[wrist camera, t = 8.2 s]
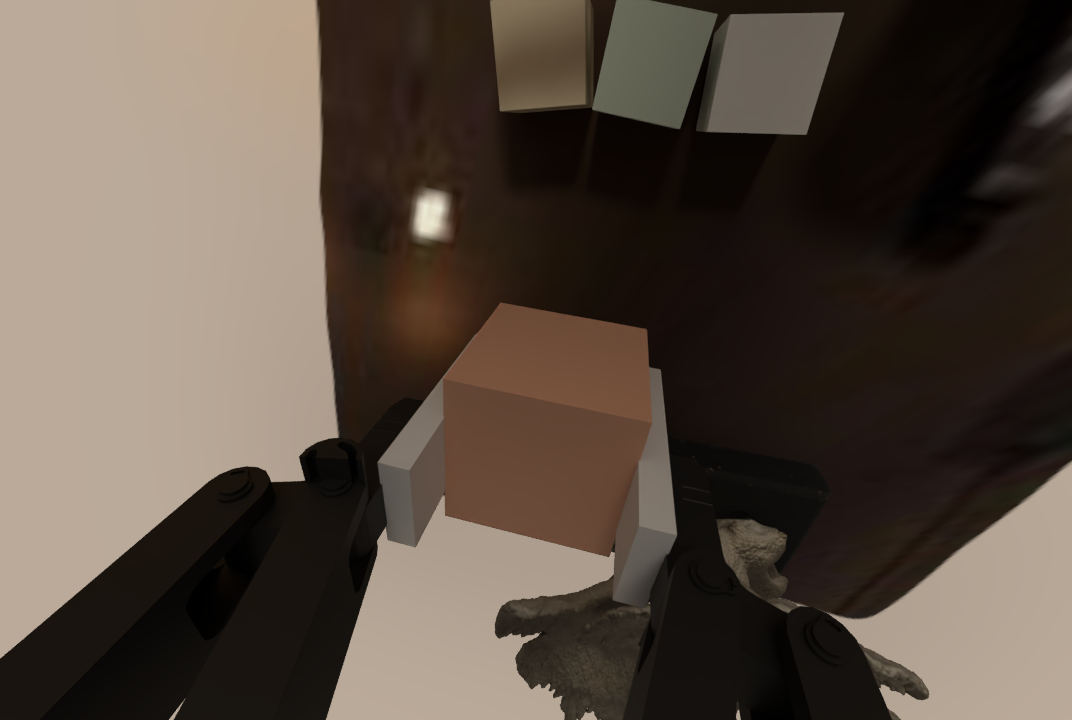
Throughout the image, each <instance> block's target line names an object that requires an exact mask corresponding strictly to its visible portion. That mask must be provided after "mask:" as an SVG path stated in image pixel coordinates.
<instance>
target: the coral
mask: <svg viewBox="0 0 1072 720" xmlns="http://www.w3.org/2000/svg"><path fill="white" fill-rule="evenodd" d="M667 439H668V449H669V454H671V455H676V456H681V457H685V458H690V459H694V460H697V461H698V462H699V464H700V465H701V467H702V468H703V470H704V471H705V473H706V474H707V476H708V481H709V486H710V494H711V496H712V501H713V507H714V511H715V516H716V521H717V526H718V530H719V535H720V540H721V545H722V550H723V555H724V558H725V561H726V563H727V564H728V565H729V566H730V567H731V568H732V569H733V570H734V572H735V574H736V576H737V577H738V579H739V581H740V583H741V584H742V585H743V586H744V587H745V588H746V589H747V590H748V591H750V592H751V593H753V594H754V595H756V596H757V597H759V598H761V599H763V600H764V601H766V602H768V603H770V604H772V605H774V606H775V607H777V608H779V609H781V610H783V611H784V612H786V613H789V612H790V611H791V610H793V609H795V608H797V607H799V606H797V605H796V604H795V603H792V602H790V601H788V600H785V599H778V598H780V597H781V596H782V595H783V594H784V593H785V590H786V588H787V583H788V580H787V578H785V577H784V576H781V575H780V574H781V573H782V572H783V570H784V568H785V567H786V565H787V564H788V562H789V560H790V559H791V558H792V556H793V555H794V553H795V551H796V550H797V548H798V547H799V545H800V544H801V542H802V540H803V539H804V537H805V536H806V534H807V533H808V531H809V529H810V528H811V526H812V525H813V523H814V522H815V520H816V518H817V517H818V515H819V514H820V512H821V510H822V509H823V507H824V506H825V504H826V503H827V501H828V500H829V498H830V496H831V490H830V489H829V487H828V485H827V483H826V481H825V479H824V477H823V475H822V473H821V471H820V469H819V468H818V467H817V466H816V465H812V464H807V463H802V462H796V461H791V460H785V459H780V458H775V457H770V456H764V455H759V454H753V453H748V452H743V451H737V450H731V449H727V448H721V447H715V446H711V445H705V444H699V443H694V442H689V441H684V440H679V439H673V438H668V437H667ZM615 541H616V537H615ZM615 541H614V544H613V547H612V550H611V552H615ZM613 581H614V575H613V576H612V577H611V578H610V579H609V580H607V581H603V582H600V583H598V584H595V585H593V586H592V587H589V588H586V589H584V590H581V591H579V592H575V593H570V594H566V595H558V596H552V597H547V596H540V597H539V598H535V599H533V598H531V599H521V600H512V601H509V602H507V603H506V604H505V605H503V606H502V607H501V608H500V610H499V612H498V615H497V618H496V622H495V634H496V636H497V637H498V638H499V639H500V638H502V637H504V636H505V637H506V636H508V635H509V634H511V633H512V634H513V635H519V634H521V637H525V636H526V635H534V634H535V633H540V632H541V633H540V634H539V636H538V637H537V638H534V639H533V640H530V641H528V642H527V643H524V644H523V646H522V648H521V649H520V651H519V652H518V654H517V655H516V658H515V659H516V664H517V671H518V673H519V675H521V677H522V678H524V680H525V681H526V682H527V683H528V685H529V687H530V688H531V689H533V688H534V687H535V686H537V685H538V684H540V685H541V688H545V686H546V685H548V684H549V683H550V685H551V686H550V689H549V691H552V690H553V689H555V690H556V691H555V693H554V694H553V698H556V697H559V696H563V697H562V700H561V704H560V707H561V710H562V711H563V712H564V713H565V719H564V720H576V719H578V720H581V718H582V717H583V715H584V713H585V712H587V713H591V712H592V711H594V714H595V716H596V717H597V720H599V719H601V720H623V716H624V712H625V708H626V704H627V700H628V696H629V692H630V688H631V684H632V680H633V676H634V672H635V668H636V664H637V660H638V656H639V652H640V648H641V647H640V646H638V643H639V641H640V639H641V637H642V635H643V633H644V630H645V628H646V626H647V624H648V622H649V620H650V617H651V615H650V604H648V603H649V602H650V598H649V600H648V602H647V605H646V607H645V609H643V608H640V607H636V606H632V605H629V604H625V603H621V602H617V601H614V600H613ZM858 644H859V643H858ZM859 645H860V647H861V649H862V650H863V652H864V654H865V656H866V658H867V661H868V663H869V666H870V668H871V670H872V673H873V675H874V677H875V680H876V682H877V685H878V687H879V688H881V684H883V685H886V686H888V687H889V688H890V690H891V691H897V692H900V693H901V694H903V695H905V693H908V694H909V695H911V696H912V697H914V698H916V699H917V700H925V699H927V698H928V697H929V691H928V689H927V687H926V686H925V684H924V683H923V681H922V679H920V678H919V677H918V676H917V675H916V674H915V673H914V672H911V671H910V670H908V669H907V668H905V667H904V666H902V665H901V664H898V663H896V662H893V661H891V660H887V659H886V658H884V657H883V656H881V655H879V654H878V653H876V652H874V651H872V650H870V649H867V648H864V647H863V646H862V645H861V644H859ZM587 708H588V709H587ZM737 710H739V705H738V701H737V708H736V713H737ZM888 711H889V713H890V716H891V718H892V720H901V719H899V717H898V716H897V715H896V714H895V713H893V712H892V711H890V710H889V709H888ZM736 720H737V719H736Z"/></svg>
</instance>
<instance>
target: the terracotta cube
mask: <svg viewBox="0 0 1072 720" xmlns="http://www.w3.org/2000/svg"><path fill="white" fill-rule="evenodd" d="M443 416H444V432H445V515H446V516H449V517H453V518H457V519H461V520H465V521H469V522H473V523H477V524H481V525H485V526H489V527H492V528H496V529H501V530H504V531H508V532H512V533H516V534H520V535H524V536H528V537H532V538H536V539H540V540H544V541H548V542H552V543H556V544H559V545H564V546H567V547H571V548H576V549H580V550H583V551H587V552H591V553H595V554H599V555H603V556H607V557H609V556H610V553H611V550H612V547H613V544H614V541H615V537H616V530H617V527H618V524H619V521H620V518H621V514H622V511H623V508H624V505H625V502H626V499H627V495H628V492H629V489H630V486H631V483H632V480H633V477H634V473H635V470H636V467H637V464H638V461H639V460H641V456H642V453H643V450H644V447H645V444H646V441H647V438H648V435H649V431H650V428H651V425H652V410H651V393H650V375H649V357H648V340H647V329H643V328H637V327H632V326H626V325H621V324H615V323H610V322H604V321H599V320H593V319H588V318H582V317H577V316H571V315H566V314H560V313H555V312H549V311H544V310H538V309H533V308H527V307H522V306H516V305H511V304H505V303H500V304H499V306H498V307H497V308H496V309H495V311H494V312H493V313H492V315H491V316H490V317H489V319H488V320H487V321H486V323H485V324H484V325H483V327H482V328H481V329H480V331H479V332H478V333H477V335H476V336H475V337H474V339H473V340H472V341H471V343H470V344H469V345H468V346H467V348H466V349H465V350H464V352H463V353H462V354H461V356H460V357H459V358H458V360H457V361H456V362H455V364H454V365H453V366H452V368H451V369H450V370H449V372H448V373H447V374H446V376H445V377H444V378H443Z"/></svg>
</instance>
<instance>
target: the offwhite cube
mask: <svg viewBox="0 0 1072 720" xmlns="http://www.w3.org/2000/svg"><path fill="white" fill-rule="evenodd" d="M843 15H844V13H788V14H731V15H730V16H729V17H728V18H727V19H726V21H725V22H724V23H723V24H722V25H721V26H720V28H719V29H718V30H717V31H716V32H715V33H714V38H713V43H712V48H711V53H710V59H709V64H708V69H707V74H706V80H705V85H704V90H703V95H702V100H701V106H700V111H699V116H698V121H697V127H696V131H703V132H729V133H763V134H797V135H806V134H807V131H808V128H809V124H810V121H811V118H812V115H813V112H814V108H815V105H816V102H817V99H818V95H819V92H820V89H821V86H822V82H823V79H824V76H825V73H826V70H827V66H828V63H829V60H830V57H831V53H832V50H833V47H834V44H835V40H836V37H837V34H838V31H839V28H840V24H841V21H842V18H843Z"/></svg>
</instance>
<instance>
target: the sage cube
mask: <svg viewBox="0 0 1072 720" xmlns="http://www.w3.org/2000/svg"><path fill="white" fill-rule="evenodd" d="M717 15H718V14H715V13H710V12H705V11H700V10H695V9H690V8H685V7H680V6H675V5H670V4H665V3H660V2H655V1H650V0H617V1H616V5H615V10H614V14H613V19H612V23H611V27H610V32H609V36H608V41H607V45H606V50H605V54H604V59H603V63H602V68H601V72H600V76H599V81H598V85H597V90H596V94H595V99H594V103H593V108H592V110H595V111H598V112H602V113H606V114H611V115H615V116H620V117H624V118H628V119H633V120H637V121H642V122H646V123H651V124H655V125H660V126H664V127H669V128H673V129H680V127H681V124H682V121H683V118H684V115H685V112H686V109H687V106H688V103H689V100H690V97H691V94H692V91H693V88H694V85H695V82H696V79H697V76H698V73H699V70H700V67H701V64H702V61H703V57H704V54H705V51H706V48H707V45H708V42H709V39H710V36H711V33H712V30H713V27H714V24H715V21H716V18H717Z"/></svg>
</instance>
